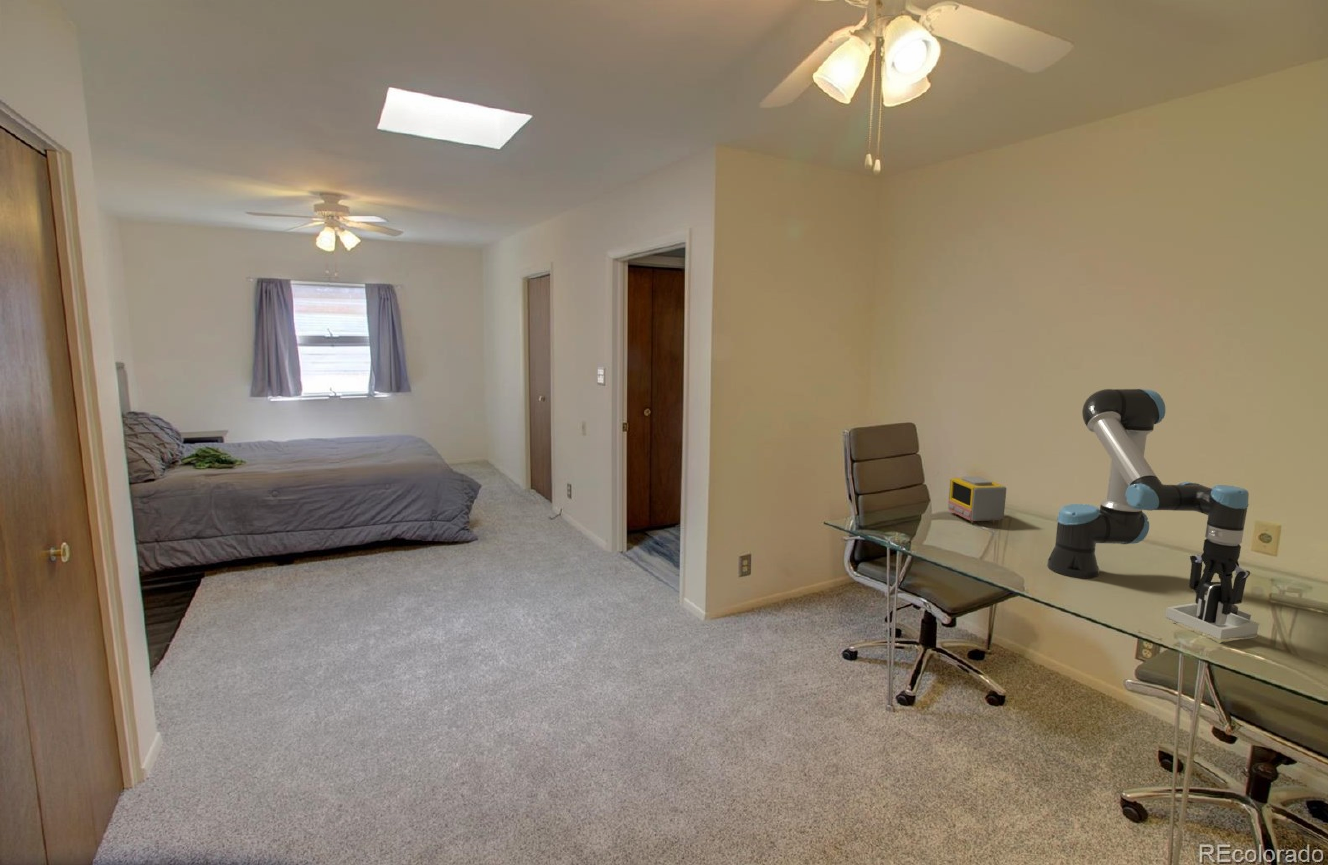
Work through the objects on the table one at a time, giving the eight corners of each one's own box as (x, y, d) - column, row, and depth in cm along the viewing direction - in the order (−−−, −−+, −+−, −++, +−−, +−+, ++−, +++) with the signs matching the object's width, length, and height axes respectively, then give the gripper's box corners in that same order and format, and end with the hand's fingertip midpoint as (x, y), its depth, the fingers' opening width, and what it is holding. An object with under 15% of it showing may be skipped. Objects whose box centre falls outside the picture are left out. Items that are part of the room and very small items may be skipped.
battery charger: (1213, 616, 172) (1221, 579, 170) (1227, 622, 169) (1235, 585, 166) (1192, 617, 172) (1199, 580, 169) (1205, 624, 168) (1212, 586, 166)
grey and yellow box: (945, 512, 282) (948, 474, 279) (976, 511, 284) (980, 473, 281) (971, 525, 263) (974, 485, 260) (1004, 524, 264) (1008, 483, 261)
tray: (1165, 620, 175) (1166, 607, 174) (1200, 614, 178) (1202, 601, 178) (1219, 643, 162) (1221, 629, 161) (1256, 636, 165) (1258, 623, 164)
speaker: (1191, 609, 182) (1193, 595, 181) (1211, 606, 184) (1213, 592, 183) (1229, 624, 172) (1232, 610, 171) (1249, 621, 174) (1252, 606, 173)
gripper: (1179, 532, 173) (1168, 608, 177) (1249, 553, 157) (1236, 636, 161) (1198, 530, 175) (1187, 605, 179) (1270, 550, 159) (1256, 632, 162)
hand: (1210, 619), depth 170 cm, fingers closed on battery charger, 4 cm apart
